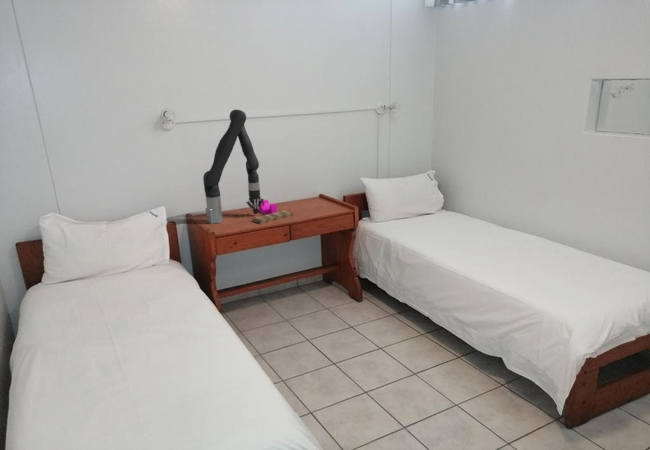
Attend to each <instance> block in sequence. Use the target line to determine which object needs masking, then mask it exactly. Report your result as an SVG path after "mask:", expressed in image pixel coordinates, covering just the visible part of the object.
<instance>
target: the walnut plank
mask: <svg viewBox="0 0 650 450" xmlns="http://www.w3.org/2000/svg"><path fill="white" fill-rule="evenodd" d="M289 217H293V212H291V211H288V210H284V209H283V210H281V211H277V212H275V213H271V214H264V215H260V216H256V217H252V222H253V223H256V224H259V225H262V224H265V223H266V224H267V223H270V222H274V221H277V220H282V219H285V218H289Z"/></svg>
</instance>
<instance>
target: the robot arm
mask: <svg viewBox="0 0 650 450" xmlns="http://www.w3.org/2000/svg"><path fill="white" fill-rule="evenodd" d="M229 120H230V122H229V125H228V128H227V130H226V131H225V133H224V134H223V135H222V137H221V138H220V140H219V142H218V144H217V147H216V149H215V153H214V158H213V163H212V164H211V167H210V169H209V170H207V171H206V172H204V174H203V178H202V179H203V180H202V181H203V188H204V194H205V202H206V207H205V216H206V217H205V218H206V223H209V224H211V225H212V224H213V225H214V224H219V223H222V222H224V221H223V210H222V199H221V191H220V186H219V185H220V181H221V177H222V174H223V172H224V170H225V169H224V168H225V166H226V164H227V163H228V160H229V158H230V156H231V155H232V152H233V150H234V146H235V145H236V141H237V140H238V141H239V144H240V147H241V151H242V153H243V156H244V158H246V162H245V170H246V173H247V183H248V184H247V190H248V200H247V201H245V203H246V204H247V205H248V207H249V208H251V209H252V212H253V214H254V215H257V214H258V213H259V207H260V206H261V205H262V202H263V200H264V198H262V196H261V187H260V177H259V173H258V172H257V170H258V169H259V166H260V163H259V159H258V158H257V155H256V153H255V151H254V147H253V143H252V142H251V139H250V136H249V135H248V133H247V130H246V127H245V123H246V122H247V121H246V120H247V115H246V113H245V112H244V111H243V110H241V109H238V108H237V109H235V108H234V109H233V110H231V112H230V113H229Z"/></svg>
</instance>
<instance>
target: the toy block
mask: <svg viewBox="0 0 650 450" xmlns="http://www.w3.org/2000/svg"><path fill="white" fill-rule="evenodd" d="M277 207H278V206H277V203H271V204H270V203H269V200H268V199H263V202H262V204H261V206H260V207H258V212H260V213H262V214H264V215H267V214H271V213H275V212H278V209H277Z"/></svg>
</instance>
